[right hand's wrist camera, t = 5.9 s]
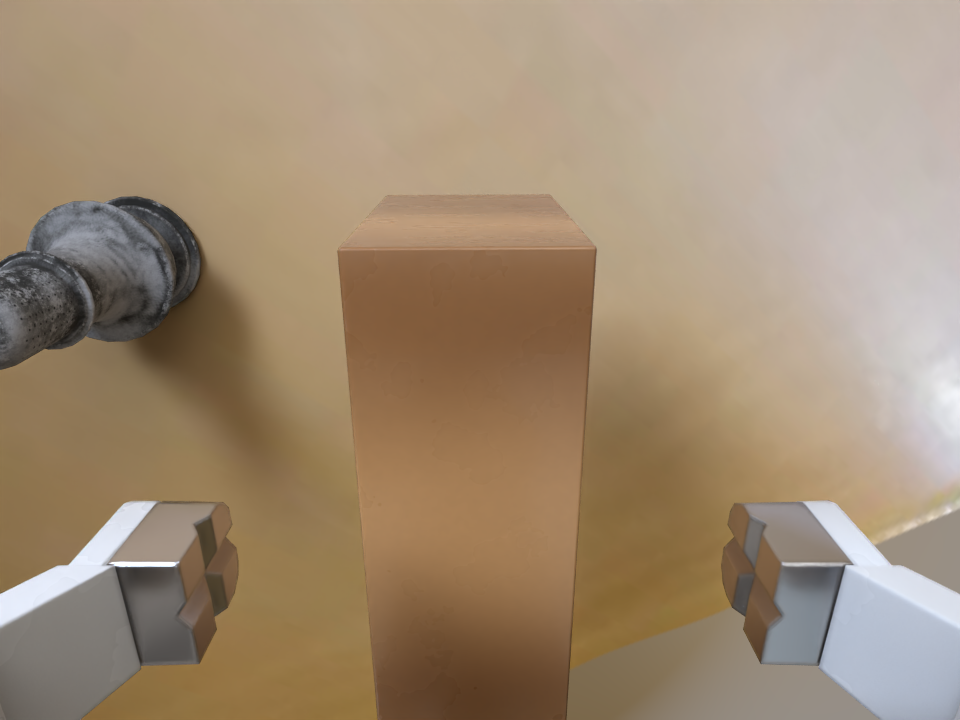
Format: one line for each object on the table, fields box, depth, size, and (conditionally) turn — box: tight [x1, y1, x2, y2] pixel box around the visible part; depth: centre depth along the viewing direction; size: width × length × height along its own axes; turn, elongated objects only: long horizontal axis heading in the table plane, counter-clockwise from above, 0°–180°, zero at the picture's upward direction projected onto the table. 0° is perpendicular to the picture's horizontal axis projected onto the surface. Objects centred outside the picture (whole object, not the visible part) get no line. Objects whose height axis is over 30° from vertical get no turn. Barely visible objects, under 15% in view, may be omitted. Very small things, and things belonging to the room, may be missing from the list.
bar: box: [338, 195, 597, 720], centre depth 20 cm, size 23×5×8 cm, turn 0°
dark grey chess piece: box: [0, 197, 201, 370], centre depth 24 cm, size 6×6×12 cm
